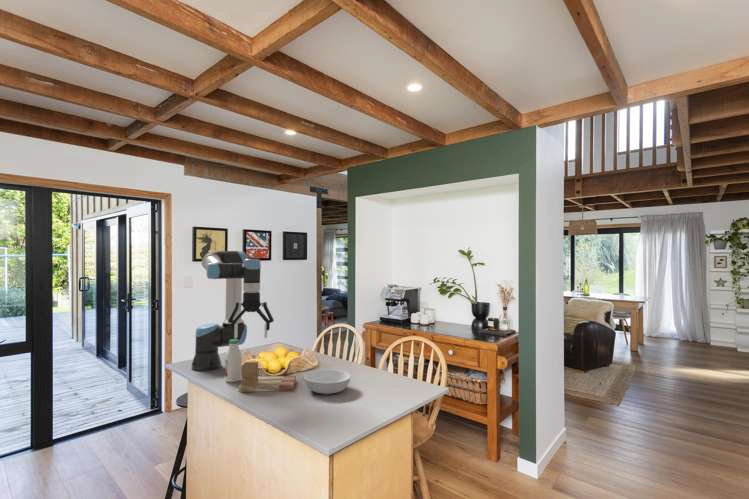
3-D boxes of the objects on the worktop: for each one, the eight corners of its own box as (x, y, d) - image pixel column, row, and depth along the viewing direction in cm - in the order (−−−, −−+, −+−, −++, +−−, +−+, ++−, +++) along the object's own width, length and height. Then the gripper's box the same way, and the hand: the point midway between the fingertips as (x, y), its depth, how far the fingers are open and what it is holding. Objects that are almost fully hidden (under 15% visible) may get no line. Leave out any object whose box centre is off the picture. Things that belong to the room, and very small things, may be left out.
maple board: (246, 382, 189) (246, 376, 189) (295, 381, 191) (295, 376, 192) (238, 391, 175) (238, 386, 175) (292, 390, 178) (292, 385, 178)
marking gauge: (244, 385, 182) (245, 362, 183) (257, 384, 183) (258, 361, 183) (240, 391, 174) (240, 366, 175) (254, 390, 175) (254, 366, 175)
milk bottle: (244, 378, 195) (244, 338, 196) (237, 383, 187) (237, 341, 188) (229, 377, 196) (230, 338, 196) (221, 382, 188) (222, 341, 189)
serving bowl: (343, 400, 166) (343, 384, 166) (297, 396, 170) (297, 381, 170) (355, 385, 186) (355, 371, 186) (313, 382, 190) (314, 368, 190)
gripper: (221, 292, 176) (220, 339, 175) (277, 292, 178) (276, 338, 178) (226, 291, 184) (225, 336, 183) (280, 291, 186) (279, 335, 185)
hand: (250, 337), depth 180 cm, fingers open, 13 cm apart
